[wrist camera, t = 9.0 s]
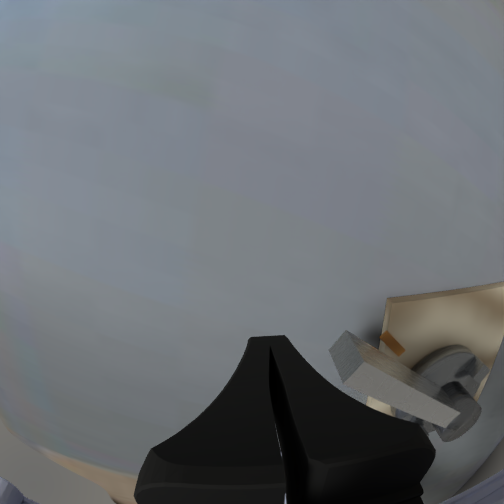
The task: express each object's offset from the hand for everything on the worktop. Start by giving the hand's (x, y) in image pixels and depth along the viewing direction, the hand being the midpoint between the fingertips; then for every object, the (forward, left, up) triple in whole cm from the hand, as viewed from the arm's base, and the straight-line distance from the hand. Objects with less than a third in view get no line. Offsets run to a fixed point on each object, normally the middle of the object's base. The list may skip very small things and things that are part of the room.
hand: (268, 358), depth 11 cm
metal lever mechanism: (-10, -13, -9) cm, 19 cm away
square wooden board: (-11, -18, -10) cm, 23 cm away
